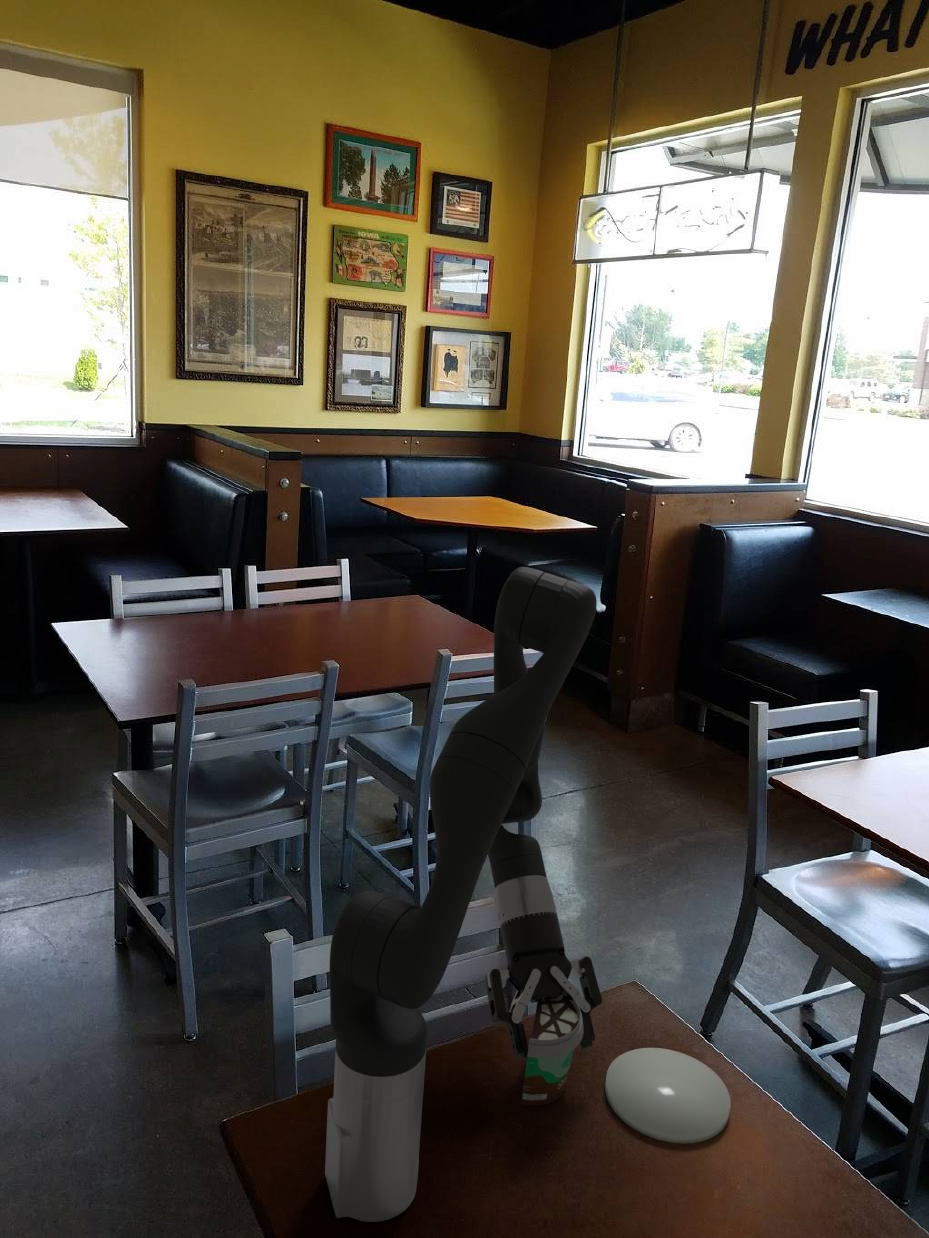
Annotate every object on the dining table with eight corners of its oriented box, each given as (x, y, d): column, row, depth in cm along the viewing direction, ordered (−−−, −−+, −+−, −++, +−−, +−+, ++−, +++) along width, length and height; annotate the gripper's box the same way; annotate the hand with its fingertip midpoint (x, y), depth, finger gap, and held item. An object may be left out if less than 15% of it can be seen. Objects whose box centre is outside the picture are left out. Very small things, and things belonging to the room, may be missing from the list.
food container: (571, 1124, 114) (582, 1052, 111) (519, 1112, 115) (529, 1041, 112) (578, 1053, 126) (588, 987, 123) (531, 1043, 127) (540, 977, 124)
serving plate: (642, 1154, 110) (644, 1145, 110) (584, 1066, 124) (585, 1058, 123) (754, 1129, 115) (755, 1120, 115) (686, 1047, 129) (687, 1039, 128)
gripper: (485, 916, 120) (511, 1057, 113) (589, 904, 125) (621, 1038, 117) (468, 931, 127) (492, 1066, 119) (567, 919, 131) (597, 1048, 123)
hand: (556, 1052), depth 118 cm, fingers closed on food container, 8 cm apart
